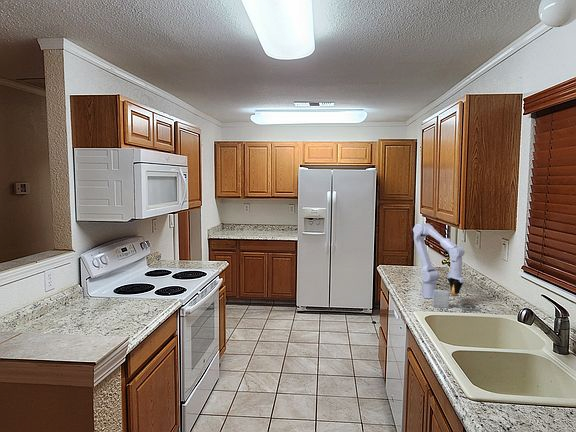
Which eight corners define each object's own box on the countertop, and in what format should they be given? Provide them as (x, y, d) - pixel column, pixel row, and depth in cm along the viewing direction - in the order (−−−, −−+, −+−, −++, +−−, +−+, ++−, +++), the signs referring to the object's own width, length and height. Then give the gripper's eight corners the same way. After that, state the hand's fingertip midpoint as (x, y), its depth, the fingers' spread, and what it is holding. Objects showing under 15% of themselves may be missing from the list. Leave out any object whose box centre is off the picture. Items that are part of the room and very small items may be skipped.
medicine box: (447, 305, 215) (448, 290, 214) (448, 308, 210) (449, 292, 210) (432, 304, 217) (432, 289, 216) (433, 307, 212) (433, 291, 212)
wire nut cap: (450, 294, 221) (451, 284, 220) (456, 294, 220) (457, 284, 220) (453, 296, 217) (453, 285, 217) (459, 296, 217) (459, 285, 217)
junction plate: (455, 305, 216) (456, 301, 216) (472, 305, 216) (472, 302, 216) (463, 310, 206) (463, 307, 206) (480, 311, 205) (480, 307, 205)
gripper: (442, 265, 225) (442, 288, 226) (455, 271, 210) (454, 296, 211) (454, 265, 225) (453, 288, 226) (468, 271, 211) (467, 295, 212)
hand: (455, 292), depth 219 cm, fingers closed on wire nut cap, 3 cm apart
